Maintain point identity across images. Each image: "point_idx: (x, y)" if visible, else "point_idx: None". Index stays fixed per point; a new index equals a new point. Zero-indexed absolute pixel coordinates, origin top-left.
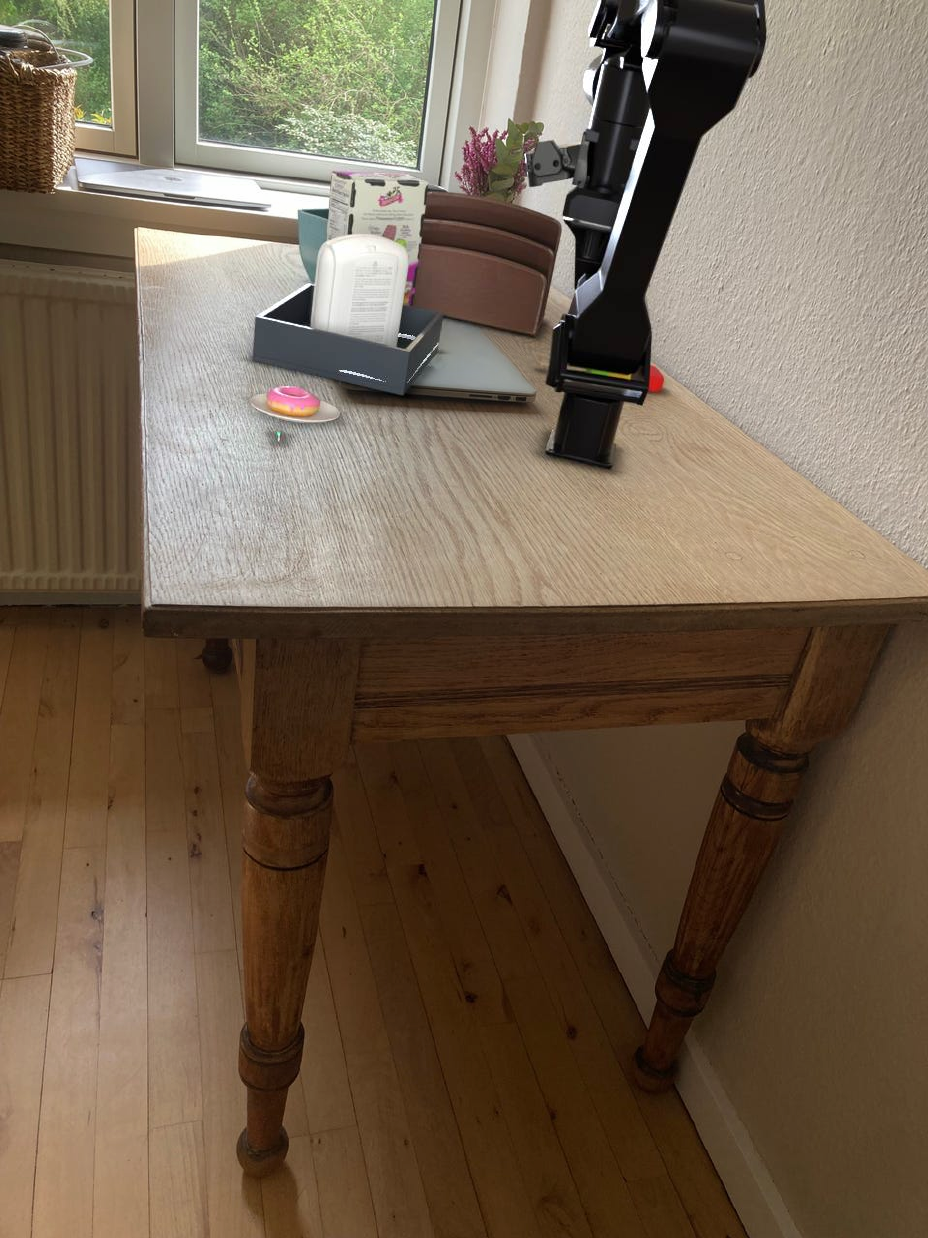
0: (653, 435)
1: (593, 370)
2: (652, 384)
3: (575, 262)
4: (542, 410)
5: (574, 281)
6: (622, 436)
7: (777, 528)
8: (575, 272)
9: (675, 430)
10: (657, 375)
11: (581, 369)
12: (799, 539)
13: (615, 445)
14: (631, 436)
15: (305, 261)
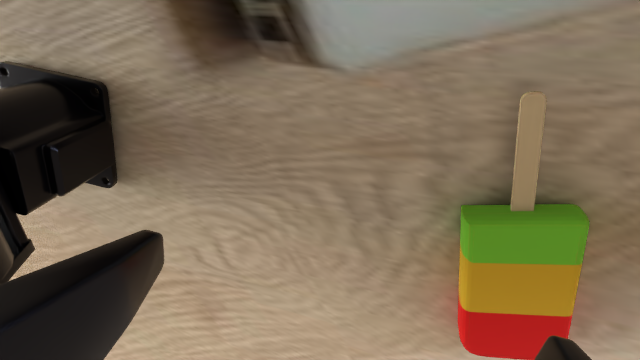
0: (221, 259)
1: (465, 222)
2: (458, 325)
3: (9, 283)
4: (226, 75)
5: (117, 240)
6: (184, 209)
7: None
8: (67, 260)
9: (266, 298)
10: (476, 346)
11: (511, 199)
12: None
13: (103, 186)
14: (194, 223)
15: None
